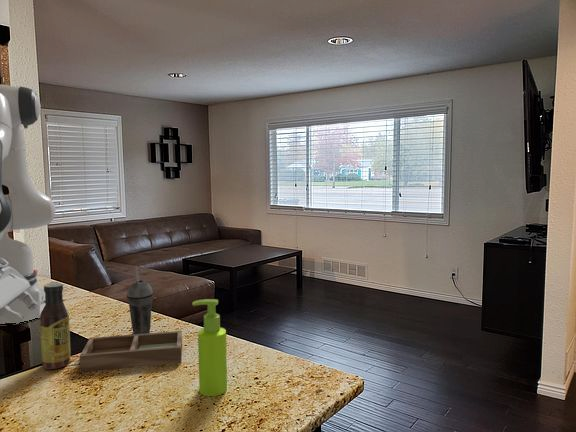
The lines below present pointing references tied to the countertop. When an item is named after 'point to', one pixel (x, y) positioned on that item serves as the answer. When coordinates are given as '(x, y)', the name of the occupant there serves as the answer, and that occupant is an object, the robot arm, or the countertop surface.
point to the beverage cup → (140, 305)
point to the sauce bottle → (54, 329)
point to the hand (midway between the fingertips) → (28, 314)
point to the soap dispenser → (212, 352)
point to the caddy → (131, 351)
